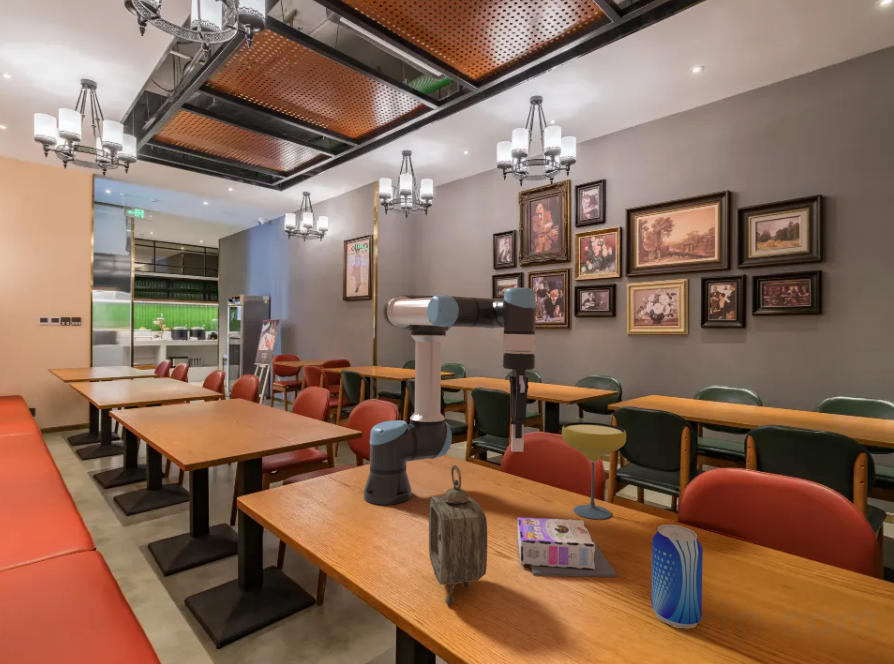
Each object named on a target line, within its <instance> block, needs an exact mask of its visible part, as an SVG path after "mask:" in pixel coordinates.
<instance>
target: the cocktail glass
mask: <svg viewBox="0 0 894 664" xmlns="http://www.w3.org/2000/svg"><path fill="white" fill-rule="evenodd" d="M561 436H562V439H563V441H564V442H565V443H566V444H567V445H568V446H570V447H572V448H573V449H575V450H576V451H578V452H579V453H581V454H583V455H584V456H585V457H586V459H587V460H588V461H589V462H590V463H591V490H590V491H591V492H590V493H591V494H590V503H589V504H580V505H579V506H578V505H576V506H574V507H575V508H574V507H573V512H574V513H575V514H576V513H577V514H578V515H577V514H576V515H577V516H579V515H580V516H579V517H581V516H583V517H582V518H584V517H585V518H584V519H588V518H590V519H589V520H594V519H603V520H607V518H608V519H610V518H612V514H611V513H612V512H611V511H610V510H609V509H608V508H606V507H603V506H599V505H596V503H595V463H597V462H598V461H599V460H600V458H602V456H605V455H608V454H610V453H614V452H615V451H618V450H620V449H621V448H622V447H624V445H626V441H627V431H626V430H625V429H624V428H622V427H621V426H617V425H614V424H607V423H601V422H587V421H580V422H579V421H577V422H569V423H565V424H563V426H562V429H561ZM609 517H610V518H609Z"/></svg>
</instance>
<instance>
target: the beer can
mask: <svg viewBox="0 0 894 664" xmlns="http://www.w3.org/2000/svg"><path fill="white" fill-rule="evenodd" d="M651 540H652V541H651V597H650V598H651V601H650V602H651V603H650V604H651V608H652V610H653V612H654V613H655V616H656V617H657V618H658V619H659V620H660V621H661V622H662V621H663V622H662V623H664V622H665V623H667V624H669V625H672V626H675V627H679V628H691V627H694V626H695V627H696V626H697V625H698V624H699V623H700V622H701V621H702V618H703V565H704V564H703V562H704V561H703V559H704V558H703V554H704V553H703V551H704V549H703V546H702V544H701V543H700V541H699V540H698V535H697V533H696V531H694V530H692V529H691V528H688V527H686V526H682V525H678V524H661V525H659V526H658V527H657V531H656V532H655V534H654V535H653V537H652V539H651ZM665 623H664V624H665ZM667 624H666V625H667ZM669 625H668V626H669ZM672 626H671V627H672ZM675 627H674V628H675ZM695 627H694V628H695ZM679 628H678V629H679Z"/></svg>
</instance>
